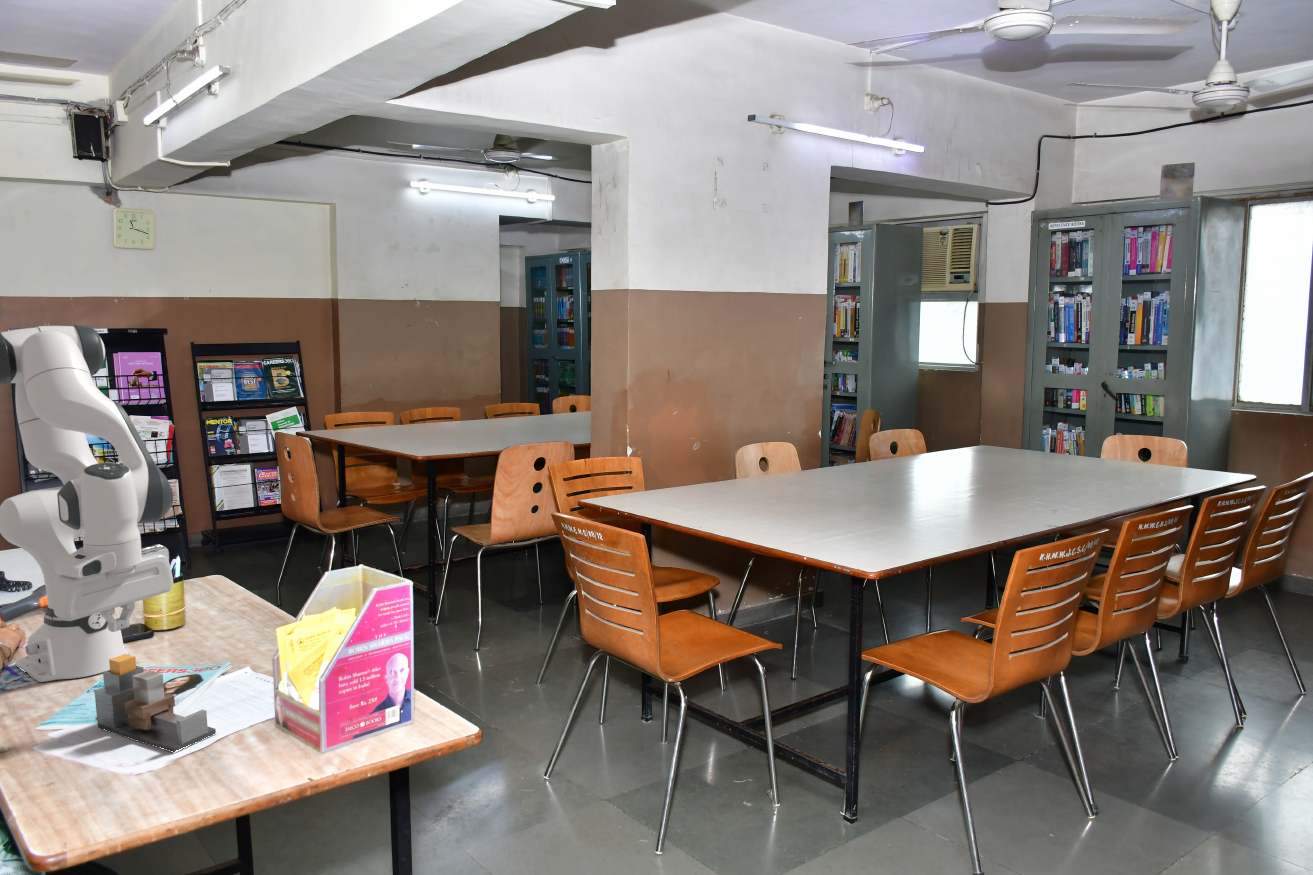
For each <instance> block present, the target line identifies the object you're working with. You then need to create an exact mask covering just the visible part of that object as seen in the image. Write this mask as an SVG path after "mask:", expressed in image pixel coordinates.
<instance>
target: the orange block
mask: <svg viewBox="0 0 1313 875" xmlns="http://www.w3.org/2000/svg"><path fill="white" fill-rule="evenodd" d="M109 665H110V672H111V673H115V674H118V675H121V674H124V673H127V672H129V671H132V670H135V669H136V666H137V660H136V656H133V655H131V654H124V655H121V656H118V657H115V658H112V659H109Z"/></svg>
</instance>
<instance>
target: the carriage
mask: <svg viewBox="0 0 1313 875" xmlns="http://www.w3.org/2000/svg"><path fill="white" fill-rule="evenodd" d="M164 686H165V685H164V675H163V673H160V672H156V671H154V670H149V669H147V670H145V671H144V672H142V673H139V674H136V675H134V676H133V687H134V698H135V699H133V700H130V701H128V702H125V711H126V714H128V719H129V725H131V726H134V727H137V728H140V729H144V730H149V729H152V727H151V716H152V715H154V714H157V713H159V712H162V711H166V712H170V713H173V714H175V713H174V712H175V711H174V707H176V702H175V701H176V700H175V695H173V694H171V693H167V692H165V687H164Z"/></svg>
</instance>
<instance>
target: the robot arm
mask: <svg viewBox="0 0 1313 875" xmlns="http://www.w3.org/2000/svg"><path fill="white" fill-rule="evenodd" d="M105 357H106V348H105V344H104V341H103V340H102V338H101V336H100V334H99V332H98V331H97V330H96V329H95V328H94V327H92V326H89V325H82V324H73V326H72V325H41V326H40V325H39V326H36V327H27V328H26V327H25V328H18V329H11V330H6V331H2V332H1V331H0V385H2V386H3V385H4V386H9V385H10V384H15V387H14V388H15V389H14V390H15V392H14V394H15V396H14V397H15V399H14V400H15V409H16V410H15V411H16V418H17V423H18V427H19V433H20V436H21V437H20V438H21V442H22V445H23V446H22V447H23V450H24V455H25V459H26V460H27V461H28V462H29V463H30V464H31V465H32V466H33V467H35V468H36V469H39V470H42V471H44V472H49V473H52V474H53V475H55V476H57V478H58V479H59V480H60V481H61V482H62V484H63V486H56V487H48V488H42V489H37V490H30V491H26V492H24V493H20V494H17V495H13V496H11V497H8V498H6V499H5V500H3V501H2V503H1V505H0V535H1V536H2V537H3V538H4V539H5V540H6V541H7V542H8V543H10V544H12V545H13V546H17V547H18V548H21V549H23V551H26V552H27V553H28V554H29V555H30V556H31V557H32V558H34V560H35V561H36V563H37V564H38V566H39V568H40V570H41V572H42V575H43V580H44V586H45V593H46V600H47V605H44V606H41V608H45V609H43V610H42V613H43V614H44V615H43V616H44V618H43V623H42V624H41V625H40V626H39V628H37V630H35V631H34V632H33V633H32V634H31V635H30V636H28V639H27V644H26V645H25V647H24V648H25V650H24V651H25V653H26V656H24V657H21V658H19V659H17V661H15V664H14V666H15V665H16V666H18V667H19V668H21V669H23V670H24V671H25V672H27V673H28V674H29V675H30V676H29V675H28V674H27V675H28V676H29V677H30V678H32V679H33V680H36V681H37V682H39V683H44V682H45V683H46V682H52V681H57V680H68V679H69V680H70V679H77V678H84V677H89V676H94V675H99V674H103V672H104V671H107V670H110V665H109V659H112V658H115V657H118V656H121V655H124V654H127V655H129V653H130V649H129V647H127V646H124V641H123V636H122V630H125V629H128V628H129V627H130V618H131V616H132V614H133V612H134V610H135V608H136V607H135V603H136V602H139V601H143V600H146V599H149V598H152V597H156V596H160V595H163V594H166V593H169V592H171V591H172V588H173V587H174V577H173V573H172V568H171V564H170V552H169V551H170V550H169V549H168V548H167V547H166V546H165V545H161V544H160V543H158V544H157V543H156V544H153V545H149V546H144V547H142V540H141V539H142V538H141V532H140V530H139V527H138V524H145V523H157V522H159V521H160V520H161V519H163V518H164V517H165V515H167V513H169V511H170V510H171V508H172V507H173V504H174V493H173V489H172V486H171V483H170V482H169V480H168V478H167V477H166V475H165V473H163V472H162V470H161V469H160V467H159V466H158V465H157V464H156V462H155V461H154V459H153V457H152V455H151V454H150V452H149V450H148V448H147V446H146V444H145V442H144V441H143V439H142V438H141V435H140V433H139V432H138V430H137V428H136V427H135V425H134V423H133V421H132V420H131V418H130V416H129V414H128V413H127V412H126V410H125V409H124V408H123V406H122V405H121V404H120V403H119V402H117V401H115V400H112V399H111V398H109V397H108V396H106V395H105V394H104V393H103V392H102V391H101V390H100V389H99V387H97V385H96V384H95V383H94V381H93V377H94V375H96V374H98V372H99V371H100V370H101V369H102V368H103V366H104V363H105ZM86 434H87V435H91V436H95V437H98V438H101V439H103V440H105V441H107V442H108V443H110V444H111V446H112V447H113V448H114V449H115V452H116V453H117V455H118V457H119V459H120V461H121V462H122V463H117V462H116V463H114V462H98V460H96V458H95V456H94V455H93V453H92V451H91V448H90V446H89V442H88V439H87V435H86ZM81 537H83V539H82V544H83V546H82V547H79V549H77V548H76V545H75V539H77V538H81ZM118 607H119V608H122V610H121V613H120V614H119V617H115V616H114V614H115V613H116V608H118ZM16 666H15V667H16ZM25 672H24V673H25Z"/></svg>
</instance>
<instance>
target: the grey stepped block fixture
mask: <svg viewBox="0 0 1313 875" xmlns="http://www.w3.org/2000/svg"><path fill="white" fill-rule="evenodd" d="M142 672H145V671H144V667H143V666H139V665H136V669H135V670H132V671H129V672H127V673H124V674H121V675H118V674H115V673H111V672H110V670H107V671H104V672H102V674H103V675H102V677H103V687H102V688H99V689H96V690H94V699H95V712H96V721H97V729H99V728H101V729H100V730H102V729H105V730H107V731H106V732H108V731H110V732H109V733H111V732H113V733H112V734H114V733H116V734H115V735H117V734H119V735H118V736H120V735H122V736H121V737H124V736H126V737H125V738H127V737H129V738H128V739H130V738H132V739H131V740H133V739H134V740H133V741H136V740H138V741H137V742H139V741H141V742H140V743H142V742H144V743H143V744H145V743H147V744H146V745H148V744H150V745H149V746H151V745H154V746H157V747H161V748H164V749H167V750H170V751H173V752H175V751H176V750H179V749H181V748H183V747H186V746H188V745H190V744H193V743H195V742H198V741H200V740H202V739H204V738H206V737H208V736H211V735H213V734H215V733H216V734H217V731H216V728H214V727H210V726H208V717H207V710H205V709H200V710H198V711H196V712H193V713H191V714H189V715H187V716H182V715H180V714H176V713H174V714H173V713H170V712H166V711H162V712H159V713H157V714H154V715H152V716H151V727H152V729H149V730H144V729H140V728H137V727H134V726H131V725H129V719H128V714H126V711H125V702H128V701H130V700H133V699H135V698H134V687H133V676H134V675H136V674H139V673H142ZM105 730H104V731H105ZM216 734H215V735H216ZM213 736H214V735H213ZM211 737H212V736H211ZM204 740H205V739H204ZM202 741H203V740H202ZM200 742H201V741H200ZM198 743H199V742H198ZM154 746H153V747H154ZM157 747H156V748H157Z"/></svg>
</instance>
